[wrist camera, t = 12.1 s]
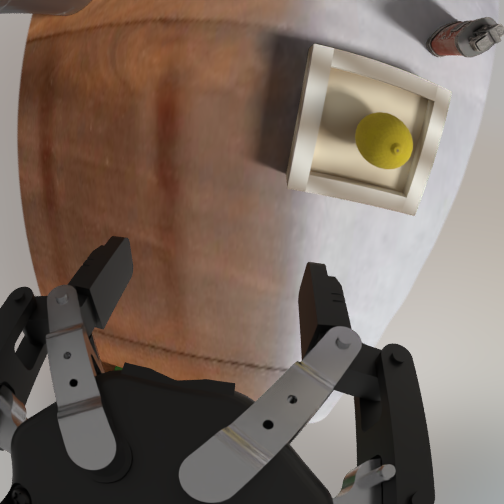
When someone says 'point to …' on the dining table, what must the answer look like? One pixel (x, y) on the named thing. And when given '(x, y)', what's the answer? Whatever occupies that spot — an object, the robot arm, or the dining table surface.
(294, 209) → the dining table surface
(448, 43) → the lighter
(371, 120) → the lemon
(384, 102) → the birch base
